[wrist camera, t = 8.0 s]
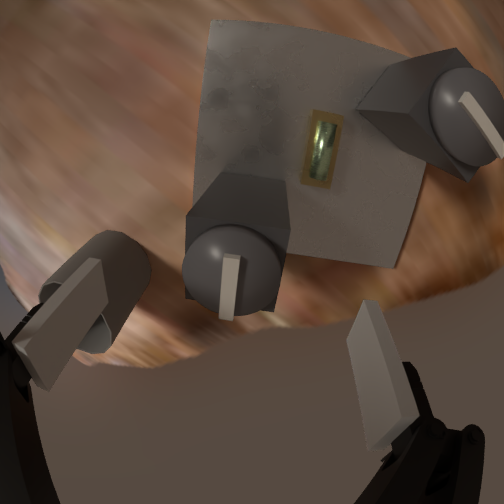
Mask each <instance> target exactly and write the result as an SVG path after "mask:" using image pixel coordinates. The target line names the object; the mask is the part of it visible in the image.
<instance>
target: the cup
mask: <svg viewBox="0 0 504 504" xmlns="http://www.w3.org/2000/svg"><path fill="white" fill-rule="evenodd" d="M89 257H90V258H95V259H101V262H102V269H103V275H104V281H105V286H106V292H107V297H108V302H109V303H108V304H107V305H106V307H105V308H104V309H103V311H102V312H101V314H100V315H99V316H98V318H97V319H96V321H95V322H94V323H93V325H92V326H91V328H90V329H89V331H88V332H87V334H86V335H85V336H84V338H83V339H82V341H81V342H80V344H79V345H78V347H77V348H76V349H79V350H82V351H85V352H88V353H90V354H97V353H105V352H106V351H107V350H108V349H109V348H110V347H111V346H112V344H113V342H114V340H115V339H116V337H117V335H118V333H119V332H120V330H121V328H122V327H123V325H124V323H125V322H126V320H127V318H128V317H129V315H130V313H131V312H132V310H133V308H134V307H135V305H136V303H137V302H138V300H139V298H140V297H141V295H142V294H143V292H144V290H145V289H146V287H147V286H148V284H149V281H150V275H151V267H150V264H149V261H148V257H147V255H146V253H145V252H144V251H143V249H142V248H141V247H140V245H139V244H138V243H137V242H136V241H135V240H134V239H132V238H130V237H129V236H127V235H126V234H124V233H122V232H118V231H111V230H106V231H104V232H101V233H99V234H96V235H95V236H94V237H93V238H92V239H90V240H89V241H88V242H87V243H86V244H85V245H84V246H83V247H81V248H80V249H79V250H78V251H77V252H76V253H75V254H74V255H73V256H72V257H71V258H69V259H68V260H67V261H66V262H65V263H64V264H63V265H62V266H61V267H60V268H59V269H58V270H57V271H56V272H55V273H54V274H53V275H52V276H51V277H50V278H49V279H48V280H47V281H46V282H45V283H44V284H43V285H42V287H41V290H40V292H39V295H38V297H39V303H41V302H43V303H45V302H46V301H47V300H48V299H49V298H50V297H51V296H52V295H53V294H54V293H55V292H56V290H57V289H58V288H59V287H60V286H61V285H62V284H63V283H64V282H65V281H66V280H67V279H68V278H69V277H70V276H71V275H72V274H73V273H74V272H75V271H76V270H77V269H78V268H79V267H80V266H81V265H82V264H83V263H84V262H85V261H86V260H87V259H88V258H89Z"/></svg>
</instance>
